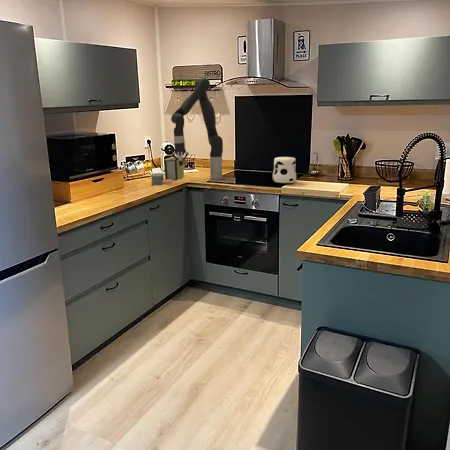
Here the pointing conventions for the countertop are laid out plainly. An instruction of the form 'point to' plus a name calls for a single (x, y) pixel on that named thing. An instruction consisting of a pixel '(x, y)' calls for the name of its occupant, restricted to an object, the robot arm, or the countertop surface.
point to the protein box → (173, 169)
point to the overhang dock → (157, 178)
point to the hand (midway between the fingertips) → (181, 165)
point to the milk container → (284, 170)
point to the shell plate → (167, 181)
